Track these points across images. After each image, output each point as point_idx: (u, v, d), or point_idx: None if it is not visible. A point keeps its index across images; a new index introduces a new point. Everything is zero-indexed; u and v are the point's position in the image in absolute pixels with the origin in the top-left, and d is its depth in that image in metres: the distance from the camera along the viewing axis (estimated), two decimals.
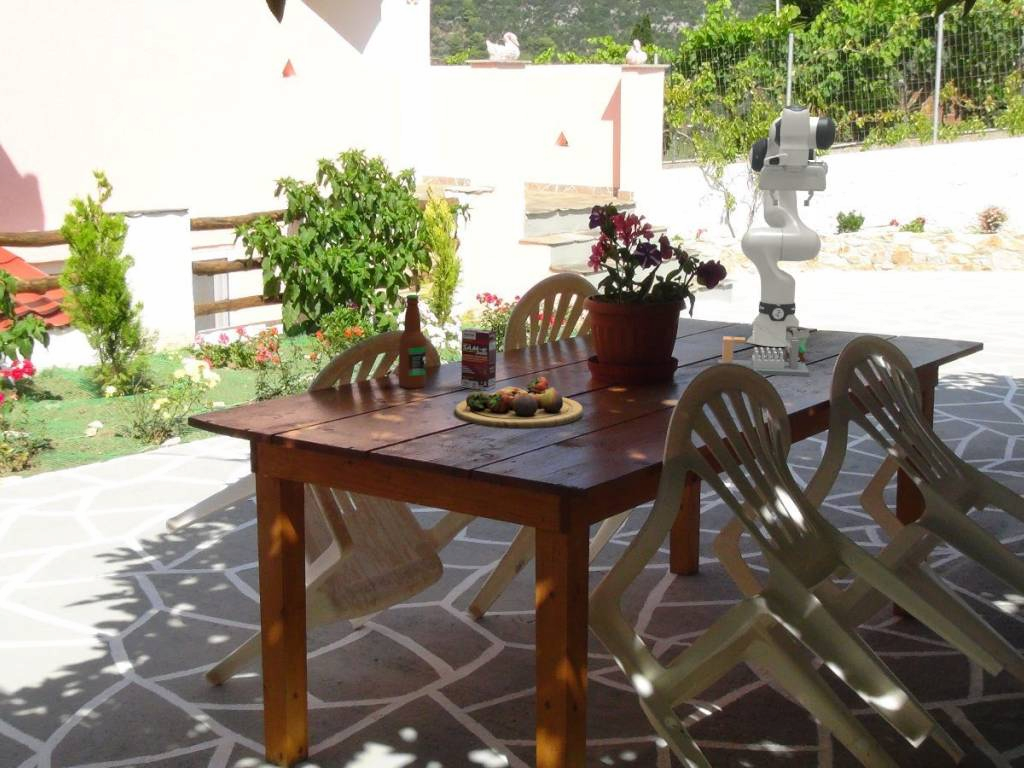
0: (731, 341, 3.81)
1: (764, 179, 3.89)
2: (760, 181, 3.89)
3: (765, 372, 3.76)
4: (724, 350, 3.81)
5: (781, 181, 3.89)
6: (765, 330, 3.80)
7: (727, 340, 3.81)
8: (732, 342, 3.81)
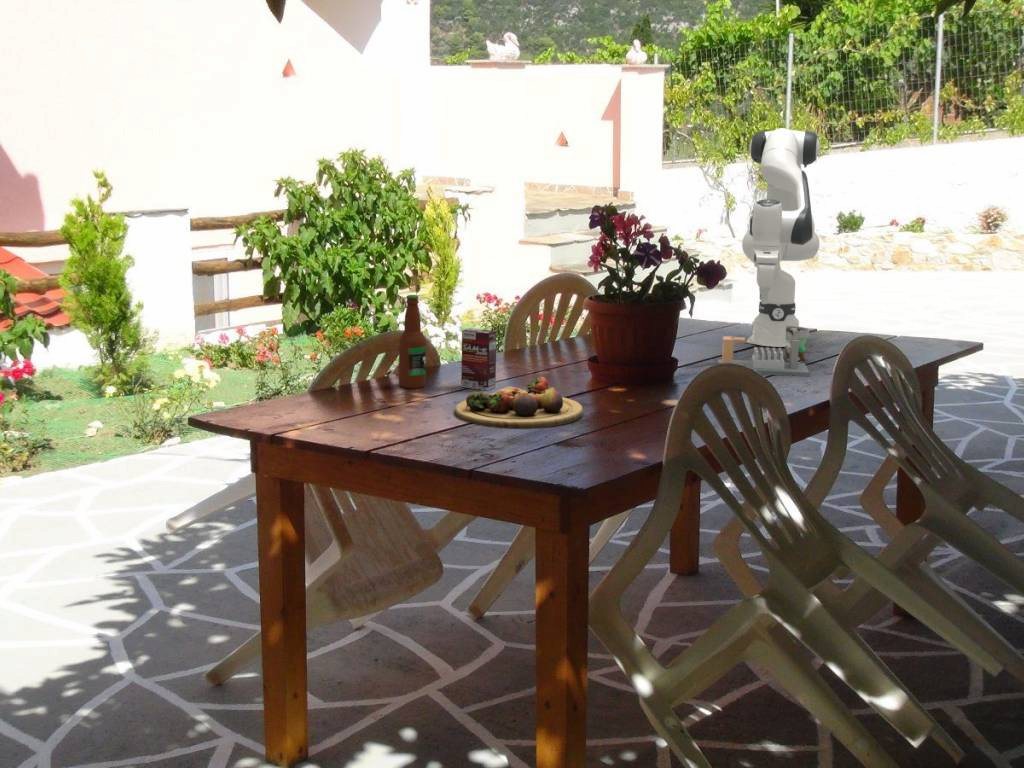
0: (731, 341, 3.81)
1: None
2: (773, 280, 3.69)
3: (765, 372, 3.76)
4: (724, 350, 3.81)
5: None
6: (765, 330, 3.80)
7: (727, 340, 3.81)
8: (732, 342, 3.81)
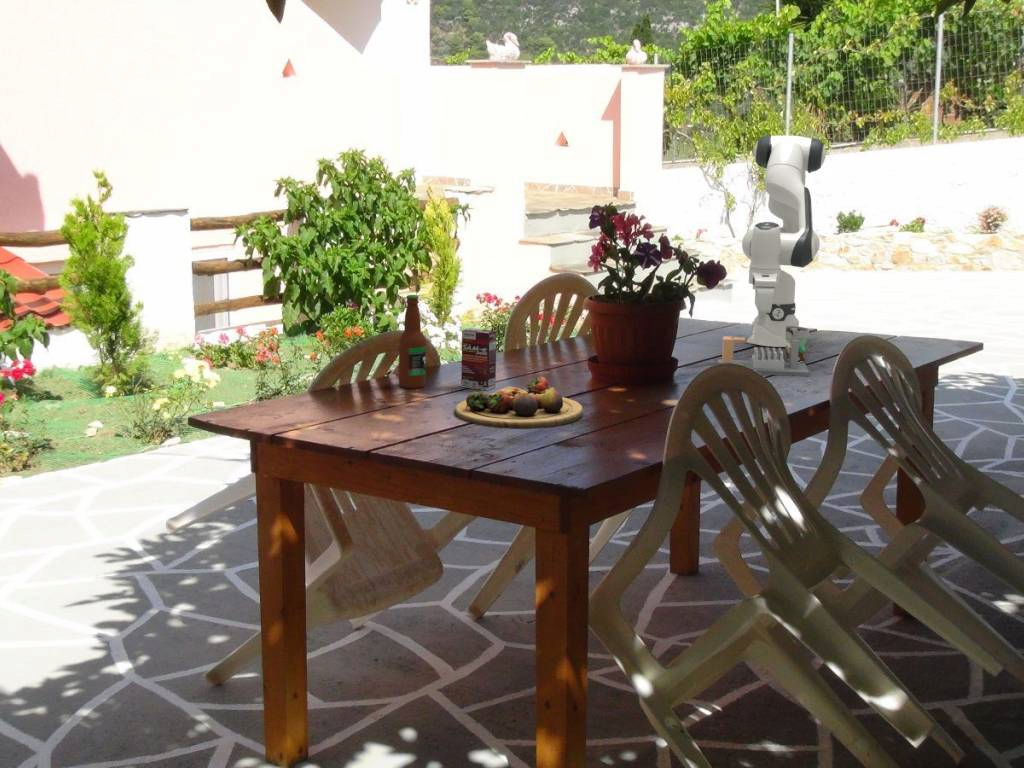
0: (731, 341, 3.81)
1: None
2: (771, 304, 3.70)
3: (765, 372, 3.76)
4: (724, 350, 3.81)
5: None
6: (765, 330, 3.80)
7: (727, 340, 3.81)
8: (732, 342, 3.81)
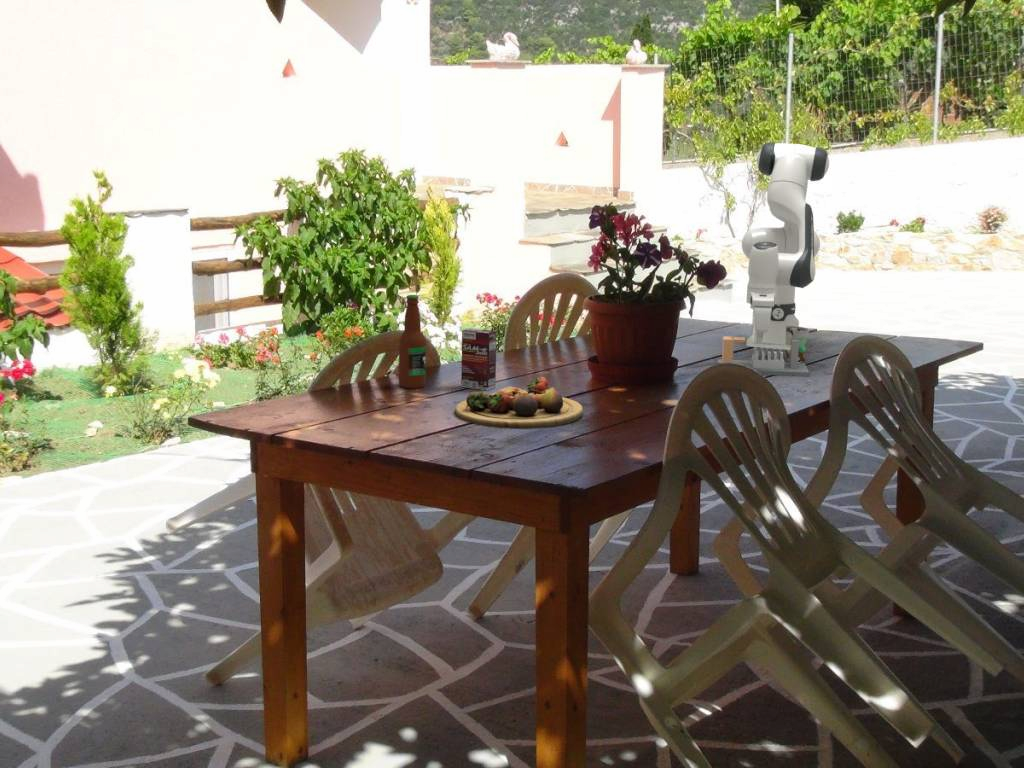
0: (731, 341, 3.81)
1: None
2: (769, 323, 3.71)
3: (765, 372, 3.76)
4: (724, 350, 3.81)
5: None
6: (759, 345, 3.81)
7: (727, 340, 3.81)
8: (732, 342, 3.81)
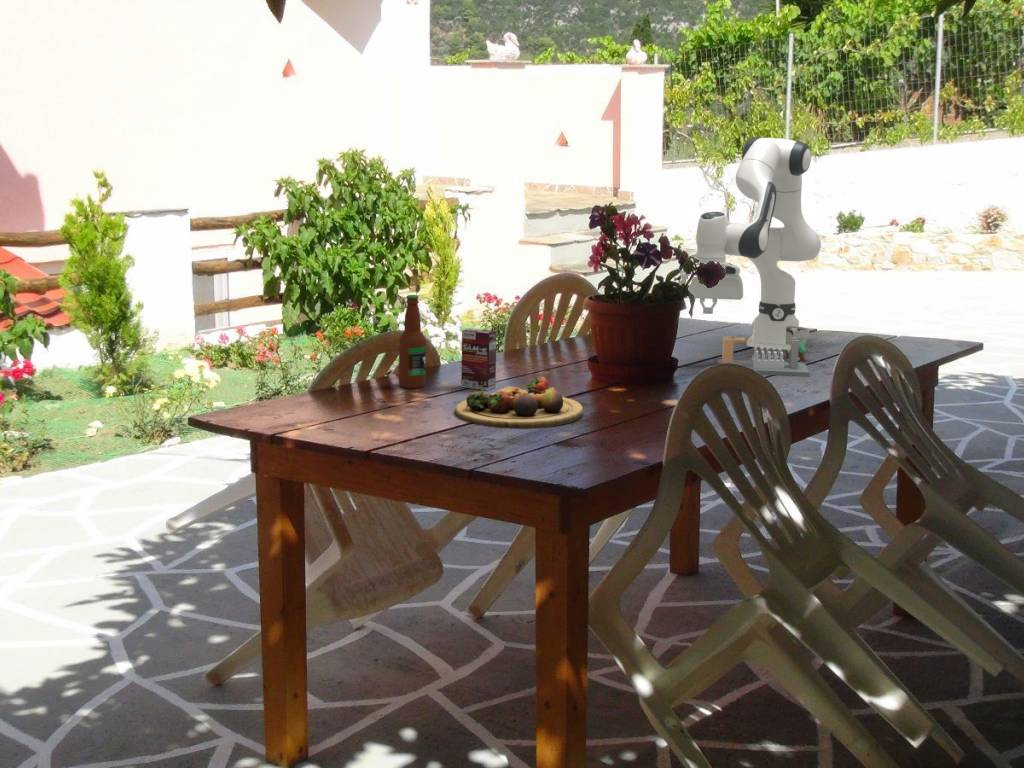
0: (731, 341, 3.81)
1: None
2: None
3: (765, 372, 3.76)
4: (724, 350, 3.81)
5: None
6: (759, 345, 3.81)
7: (727, 340, 3.81)
8: (732, 342, 3.81)
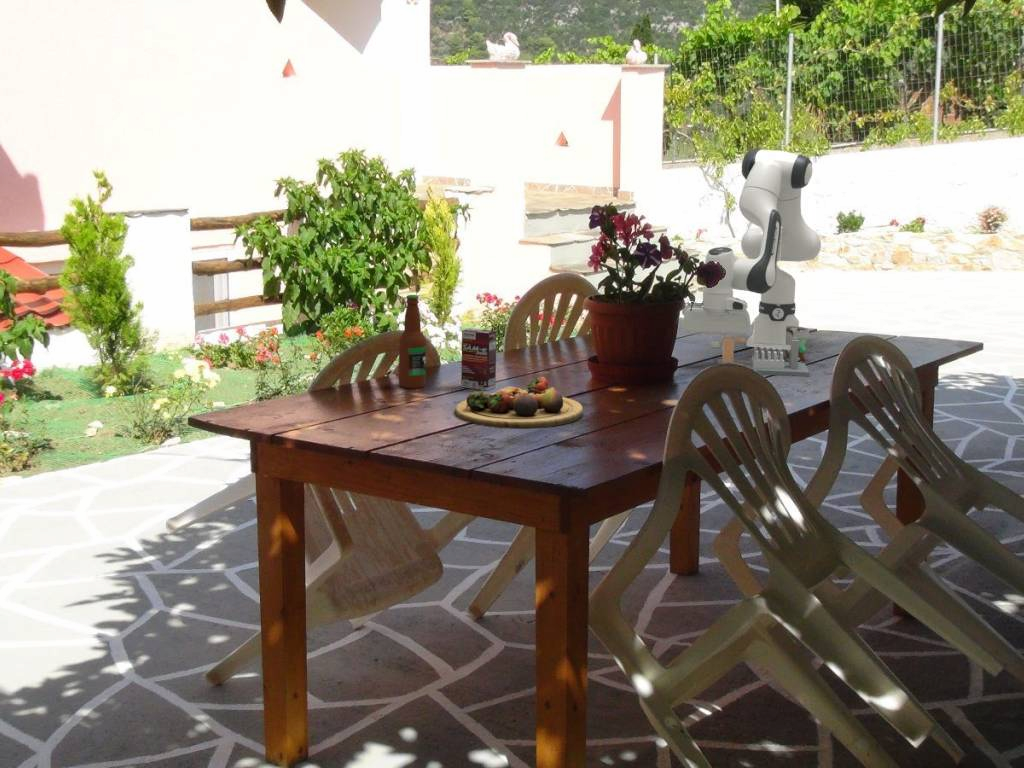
0: (731, 341, 3.81)
1: None
2: None
3: (765, 372, 3.76)
4: (724, 350, 3.81)
5: None
6: (759, 345, 3.81)
7: (727, 340, 3.81)
8: (732, 342, 3.81)
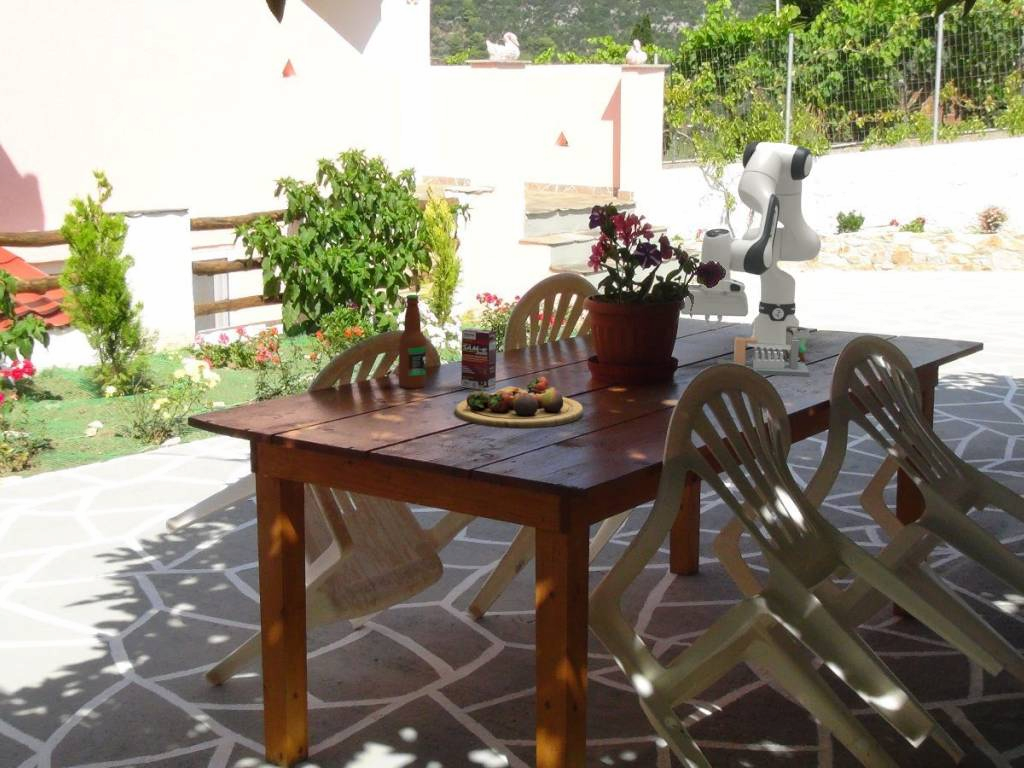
0: (743, 341, 3.80)
1: None
2: None
3: (765, 372, 3.76)
4: (736, 350, 3.81)
5: None
6: (759, 345, 3.81)
7: (739, 340, 3.80)
8: (744, 342, 3.80)
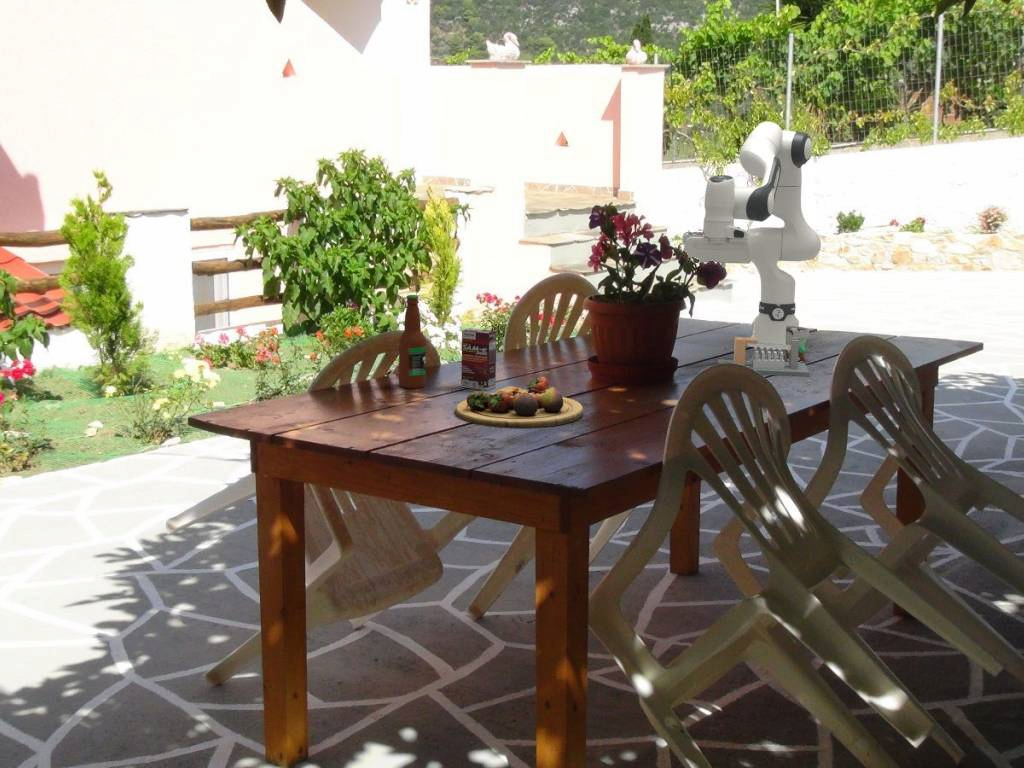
0: (743, 341, 3.80)
1: None
2: None
3: (765, 372, 3.76)
4: (736, 350, 3.81)
5: None
6: (759, 345, 3.81)
7: (739, 340, 3.80)
8: (744, 342, 3.80)
